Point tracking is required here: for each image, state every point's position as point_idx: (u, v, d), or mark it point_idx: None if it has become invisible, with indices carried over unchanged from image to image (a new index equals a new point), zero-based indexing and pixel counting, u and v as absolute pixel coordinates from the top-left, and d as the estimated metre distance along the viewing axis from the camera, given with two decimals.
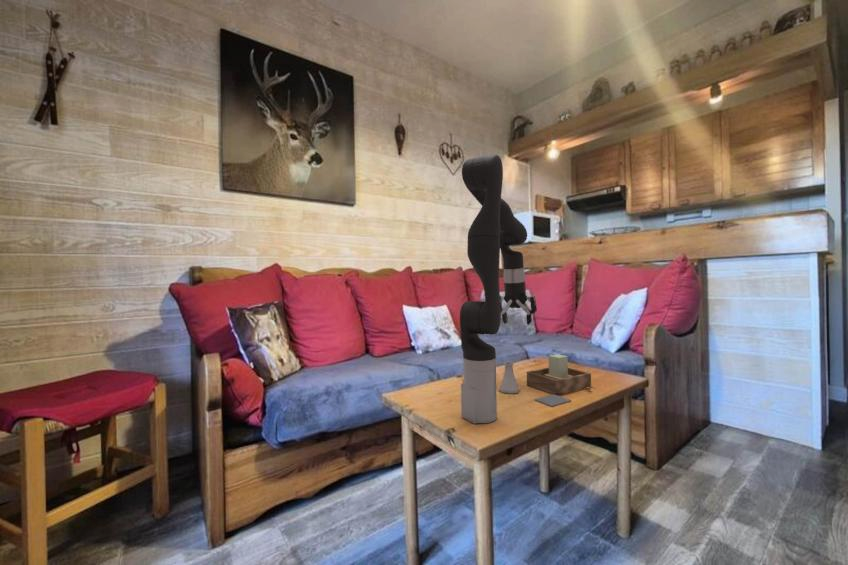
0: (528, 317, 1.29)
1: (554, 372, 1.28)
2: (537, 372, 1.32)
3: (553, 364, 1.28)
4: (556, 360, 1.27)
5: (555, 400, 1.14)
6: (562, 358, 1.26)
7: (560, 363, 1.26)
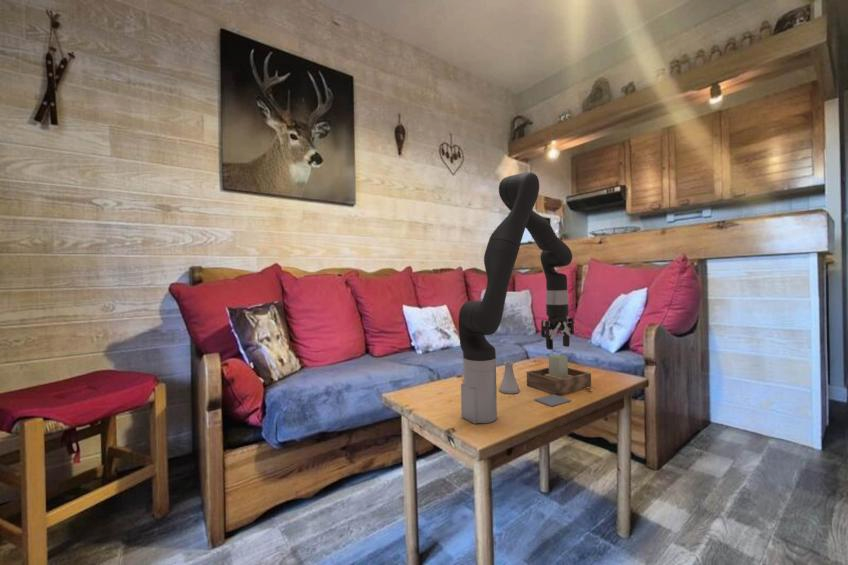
0: (568, 339, 1.30)
1: (554, 372, 1.28)
2: (537, 372, 1.32)
3: (553, 364, 1.28)
4: (556, 360, 1.27)
5: (555, 400, 1.14)
6: (562, 358, 1.26)
7: (560, 363, 1.26)
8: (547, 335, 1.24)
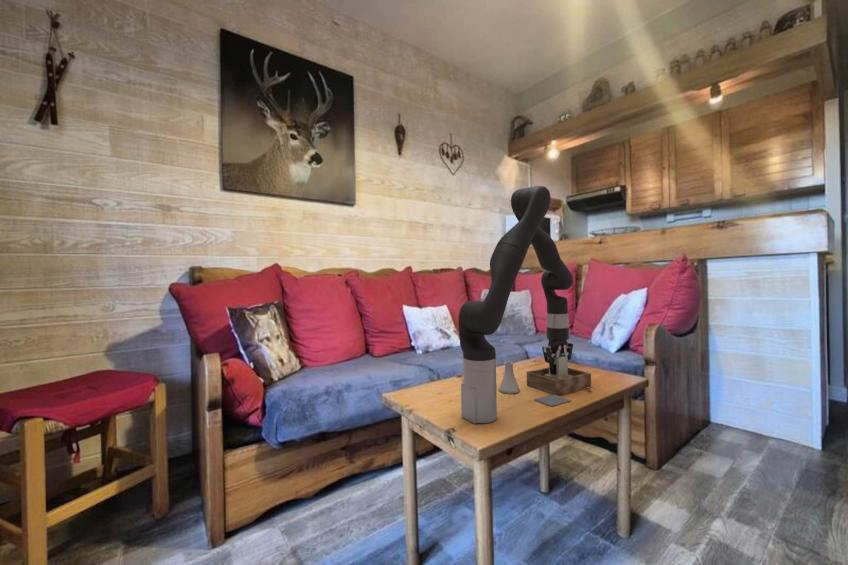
0: None
1: None
2: (537, 372, 1.32)
3: None
4: None
5: (555, 400, 1.14)
6: (562, 358, 1.26)
7: (560, 363, 1.26)
8: (551, 360, 1.25)
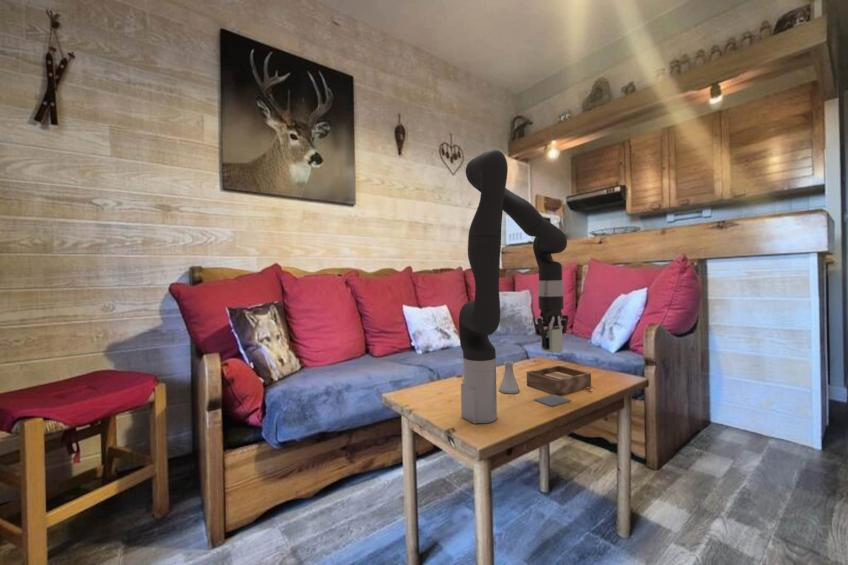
0: None
1: None
2: (537, 372, 1.32)
3: None
4: (549, 333, 1.12)
5: (555, 400, 1.14)
6: (556, 331, 1.12)
7: (553, 336, 1.11)
8: (543, 333, 1.10)
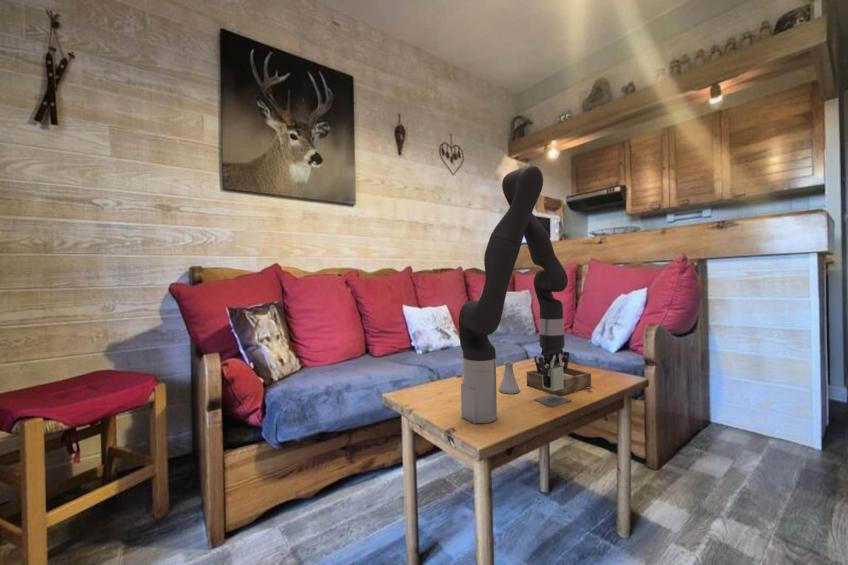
0: None
1: None
2: (537, 372, 1.32)
3: None
4: None
5: (555, 400, 1.14)
6: (557, 369, 1.12)
7: (554, 375, 1.11)
8: (544, 372, 1.11)
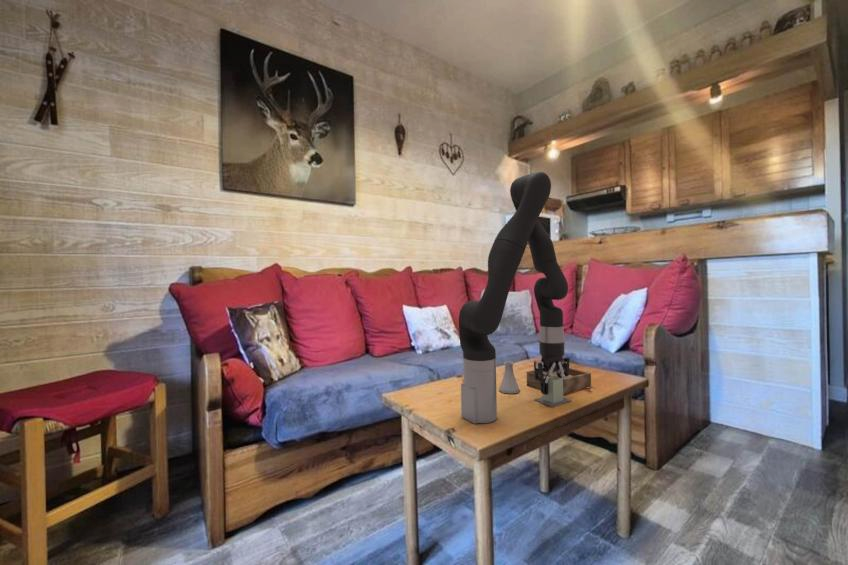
0: None
1: (547, 396, 1.13)
2: None
3: None
4: (550, 383, 1.12)
5: None
6: (557, 381, 1.12)
7: (554, 387, 1.11)
8: (542, 379, 1.10)
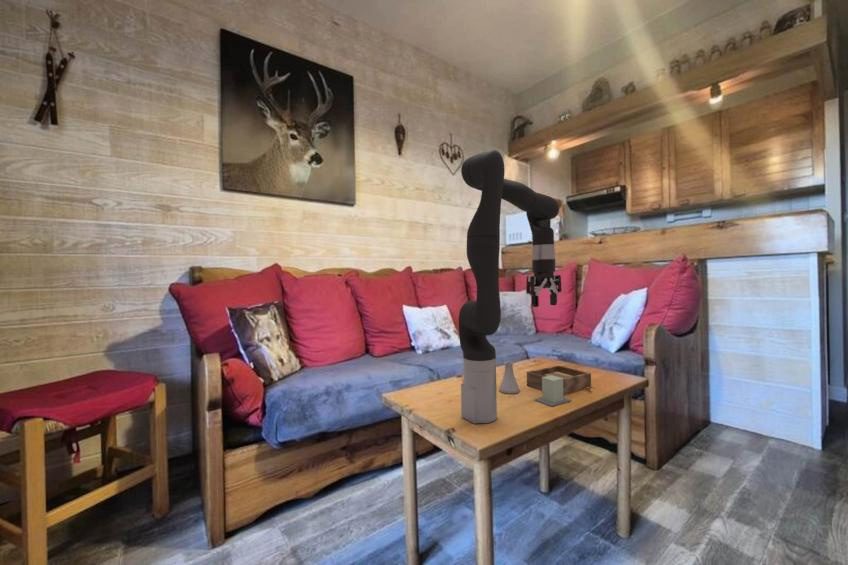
0: (556, 297, 1.24)
1: (547, 396, 1.13)
2: (537, 372, 1.32)
3: (546, 387, 1.13)
4: (550, 383, 1.12)
5: None
6: (557, 381, 1.12)
7: (554, 387, 1.11)
8: (532, 291, 1.18)
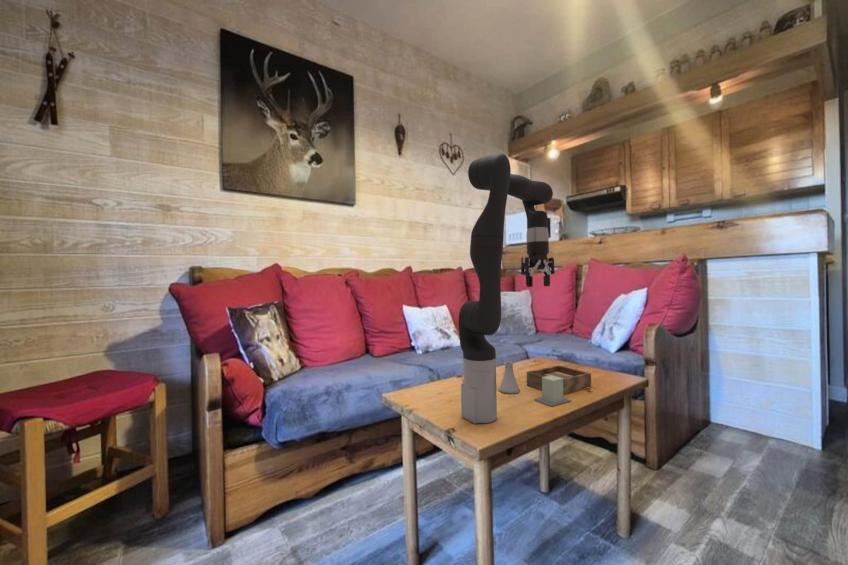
0: (549, 278, 1.29)
1: (547, 396, 1.13)
2: (537, 372, 1.32)
3: (546, 387, 1.13)
4: (550, 383, 1.12)
5: None
6: (557, 381, 1.12)
7: (554, 387, 1.11)
8: (526, 271, 1.23)
